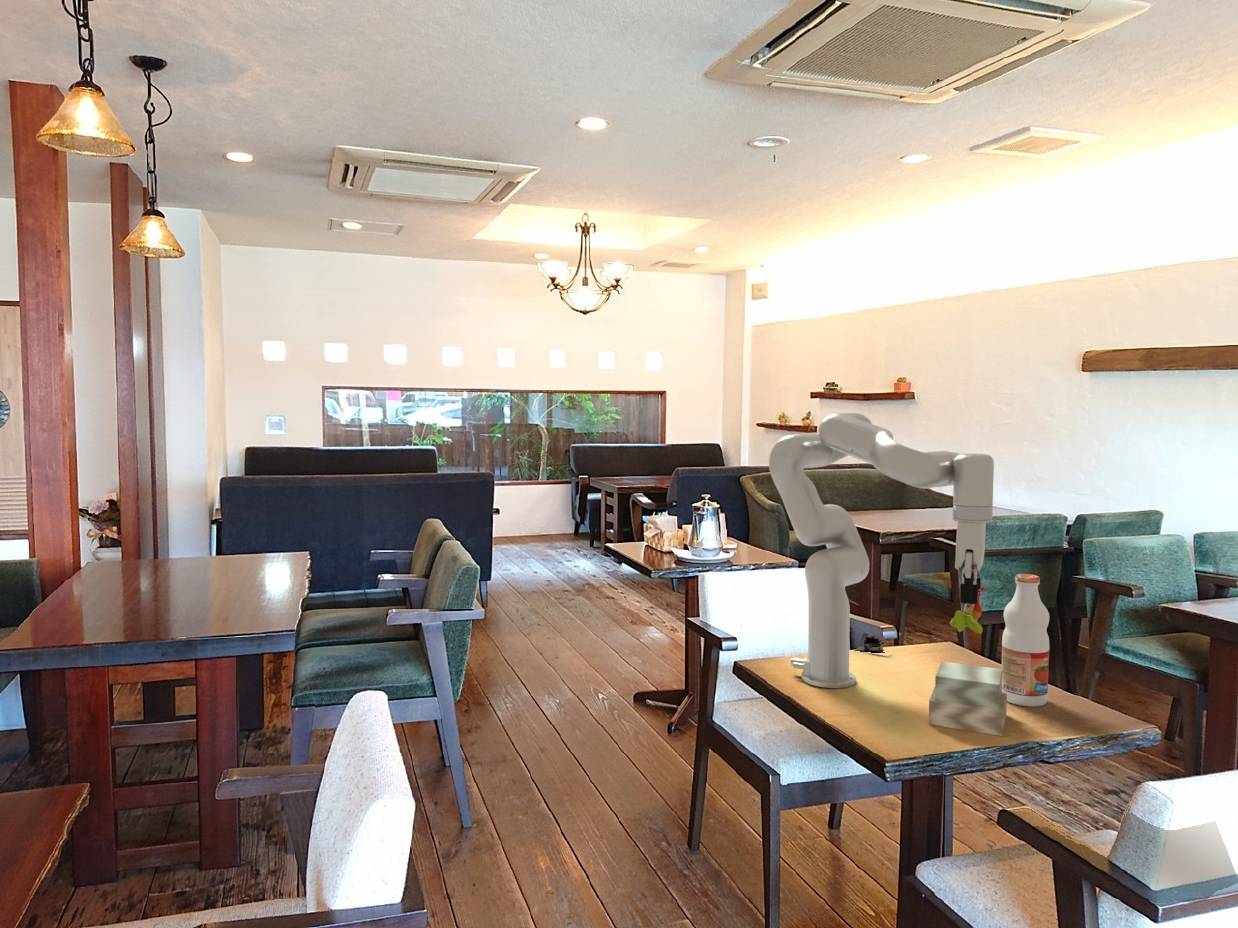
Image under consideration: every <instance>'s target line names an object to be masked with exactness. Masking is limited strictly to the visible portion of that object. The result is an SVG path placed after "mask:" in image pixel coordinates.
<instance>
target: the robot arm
mask: <svg viewBox="0 0 1238 928" xmlns="http://www.w3.org/2000/svg"><path fill="white" fill-rule="evenodd" d="M769 453H770V454H769V459H768V468H769V473H770V476H771V479H772V481H773V484H774V486H775V487H776V489H777V491H778V494H779V496H780V498H781V500H782V502H783V506H784V507H785V510H786V513H787V515H788V518H789V520H790V523H791V526H792V528H793V531H794V533H795V535H796V537H797V539H798V541H799V542H800V543H801V544H802V545H804V546H808V547H817V546H823V545H825V546H826V548H825V549H821V550H818V551H816V552H814V553H812V554H811V555H810V556H809V558H808V559H807V561H806V563H805V567H804V575H805V582H806V587H807V595H808V632H807V633H808V635H807V636H808V637H807V638H808V639H807V640H808V641H807V645H808V647H807V648H808V649H807V653H808V655H807V658H804V659H802V658H797V657H791V658H790V666H792V667H793V669H800V670H803V671H802V672H801V677H800V678H801V680H802V681H803V682H805V683H806V684H809V685H811V686H814V687H819V688H825V689H826V688H827V689H842V688H847V687H851V686H854V685H855V684H856V679H857V678H856V675H855V674H854V673H852V672H850V634H851V633H850V630H851V628H850V627H851V626H850V625H851V623H850V621H851V615H850V614H851V611H850V610H851V609H850V607H851V606H850V602H849V601H850V600H849V597H848V595H847V591H846V587H848V586H851V585H854V584H858V583H860V582H862V581H864V579H866V578H867V576H868V574H869V571H870V559H869V556H868V554H867V551H866V549H865V548H866V547H865V546H864V544H863V541H862V538H861V536H860V533H859V532H858V529H857V527H856V524H855V522H854V521H853V517H852V516H851V514H850V513H849V512H848V511H847V510H846V509H845V508H843V506H840V505H837V504H832V503H829V504H824V503H823V501H822V499H821V498H820V495H819V493H818V490H817V488H816V485H815V484H814V483H813V481H812V480H811V479H810V478H809V477H808V476H807V474H805V472H804V469H813V468H823V467H826V466H829V465H832V464H834V463H836V462H838V461H839V460H842V459H844V458H846V457H848V456H850V457H852V458H854V459H858V460H860V461H862V462H865V463H867V464H869V465H872V466H873V467H874V468H875V469H876V470H878V471H879V472H880V473H881V474H882V475H885V476H886V477H889V478H891V479H893V480H895V481H899V482H901V483H904V484H905V485H907V486H911V487H914V488H918V489H933V488H940V487H941V488H943V487H948V486H949V487H951V486H953V495H952V498H953V501H952V521H954V522H957V527H956V536H955V537H956V538H955V539H956V540H955V559H954V560H955V561H954V568H955V569H956V570H958V571H959V569H961V570H962V571H961V582H960V587H959V589H960V592H959V593H960V595H959V597H960V598H959V602H960V603H961V604H966V603H967V604H977V597H978V589H980V588H981V583H982V582H981V580H982V578H981V576H980V575H981V570H982V567H983V565H984V560H985V552H986V551H985V550H986V532H987V530H986V529H987V524H989V523H992V522H993V505H994V504H993V503H994V476H995V475H994V470H995V469H994V467H995V463H994V459H993V457H992V456H991V455H989V454H986V453H959V452H955V451H948V450H947V451H946V450H941V451H940V450H939V451H938V450H937V451H936V450H935V451H925V452H923V451H919V450H917V449H914V448H911V447H908V446H905V445H903V444H902V443H898V442H896V441H895V440H894V436H893V433H892V431H890V430H889V429H887V428H884V427H881V426H878V425H875V424H873V423H872V421H871V420H870V419H869V417H867V416H865V415H864V414H862V413H858V412H857V413H856V412H836V413H832V414H829V415H827V416H825V417H824V418H823V419H822V420H821V422H820V423H819V426H818V430H817V432H814V433H795V434H793V433H792V434H789V435H785V436H783V437H782V438H780V439H779V440H777V441H776V442H775V444H774V445H773V446H772V448H771V451H770V452H769ZM976 581H977V584H976ZM979 595H980V596H981V593H980V594H979Z"/></svg>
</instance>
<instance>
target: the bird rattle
mask: <svg viewBox="0 0 1238 928" xmlns="http://www.w3.org/2000/svg"><path fill="white" fill-rule="evenodd" d="M976 584H977V581H976ZM986 588H987V587H986V586H985V585H983V586H981V587H980V589H978V597H977V604H967V603H965V604H964V607H963V611H961V610H956V611H955V614H954V617H953V618H951V620H950V622H949V624H950V626H951V627H953V628H955V629H957V632H958V633H961V632H963V631H964V630H965V629H966V627H967V628H969V629H970V630H972V631H973V632H974V633H976V634H982V633H983V630H984V629H983V627H982V625H981V624H980V623H979V622H978V620H979V618H981V616H982V614H983V609H982V608H983V607H982V598H981V593H982V592H983V591H985V589H986ZM979 594H980V595H979Z"/></svg>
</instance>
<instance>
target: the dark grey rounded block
mask: <svg viewBox="0 0 1238 928" xmlns="http://www.w3.org/2000/svg"><path fill="white" fill-rule="evenodd" d="M884 644H885V643H884V640H883V635H878V634H877V635H875V634H868V635H866V636H865V639H864V641H863V645H864V646H862V645H859V646H858V647H856V649H854V650H853V652H856V651H860V652H859V653H862V652H871V653H885V652H883V651H884V650H885V649H884ZM869 645H875V646H876V647H875V646H869Z"/></svg>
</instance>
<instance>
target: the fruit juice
mask: <svg viewBox="0 0 1238 928" xmlns="http://www.w3.org/2000/svg"><path fill="white" fill-rule="evenodd" d="M1014 582H1015V584H1016V587H1015V592H1014V594H1013V597H1012V599H1011V601H1009V602H1008V603H1007V604H1006V605H1005V607H1004V610H1003V620H1004V623H1005V627H1004V629H1003V632H1002V640H1001V668H1000V669H1002V691H1006V692H1007V703H1010V704H1013V705H1017V706H1022V707H1036V708H1037V707H1042V706H1045V705H1047V702H1048V695H1049V689H1048V688H1049V687H1048V686H1049V666H1050V665H1049V664H1050V663H1049V659H1050V639H1049V638H1050V637H1049V635H1048V632H1047V628H1048V627H1049V622H1050V612H1049V611H1048V608H1047V607H1046V606H1045V604H1044V603H1043V602H1042V600H1041V597H1040V593H1039V585H1040V583H1041V578H1040V576H1038V575H1036V574H1030V573H1029V574H1028V573H1017V574H1016V575H1015V576H1014Z"/></svg>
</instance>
